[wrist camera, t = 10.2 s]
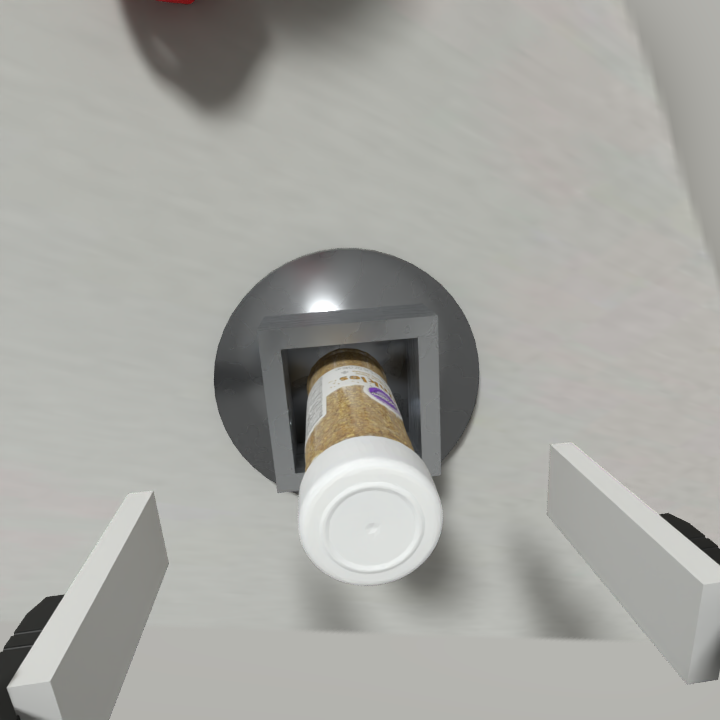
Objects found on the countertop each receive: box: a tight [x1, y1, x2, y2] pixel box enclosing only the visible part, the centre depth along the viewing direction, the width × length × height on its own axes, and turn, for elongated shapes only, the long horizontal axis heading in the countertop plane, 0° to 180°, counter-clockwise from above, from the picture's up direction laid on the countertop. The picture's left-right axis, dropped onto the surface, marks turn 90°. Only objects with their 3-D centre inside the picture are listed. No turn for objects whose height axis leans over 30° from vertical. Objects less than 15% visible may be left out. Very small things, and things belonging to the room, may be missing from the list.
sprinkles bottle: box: [298, 348, 443, 586], centre depth 21 cm, size 5×5×14 cm
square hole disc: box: [214, 248, 479, 494], centre depth 26 cm, size 15×15×4 cm
